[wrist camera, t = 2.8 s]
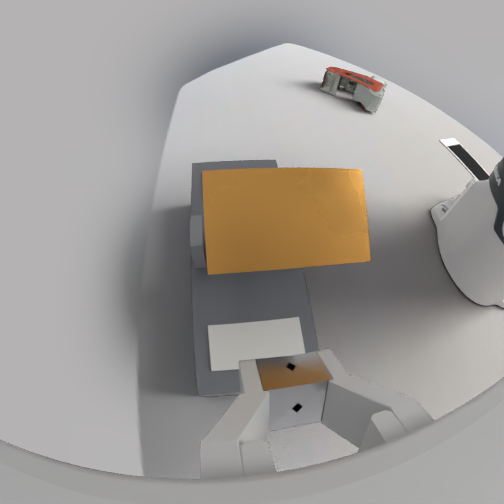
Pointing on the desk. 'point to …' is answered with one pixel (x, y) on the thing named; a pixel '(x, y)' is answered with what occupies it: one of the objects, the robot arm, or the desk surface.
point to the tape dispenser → (355, 86)
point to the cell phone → (465, 159)
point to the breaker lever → (284, 218)
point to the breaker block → (241, 306)
